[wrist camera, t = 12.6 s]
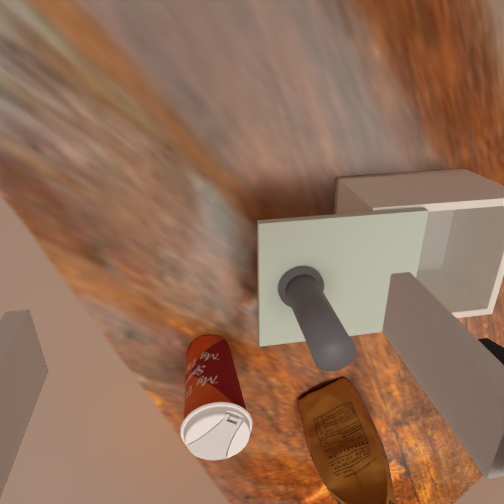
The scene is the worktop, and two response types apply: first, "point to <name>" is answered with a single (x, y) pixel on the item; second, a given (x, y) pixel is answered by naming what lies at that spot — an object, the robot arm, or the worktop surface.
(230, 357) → the paper cup
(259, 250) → the lid
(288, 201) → the worktop surface
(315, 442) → the coffee package
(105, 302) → the worktop surface
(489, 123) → the worktop surface
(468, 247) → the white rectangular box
